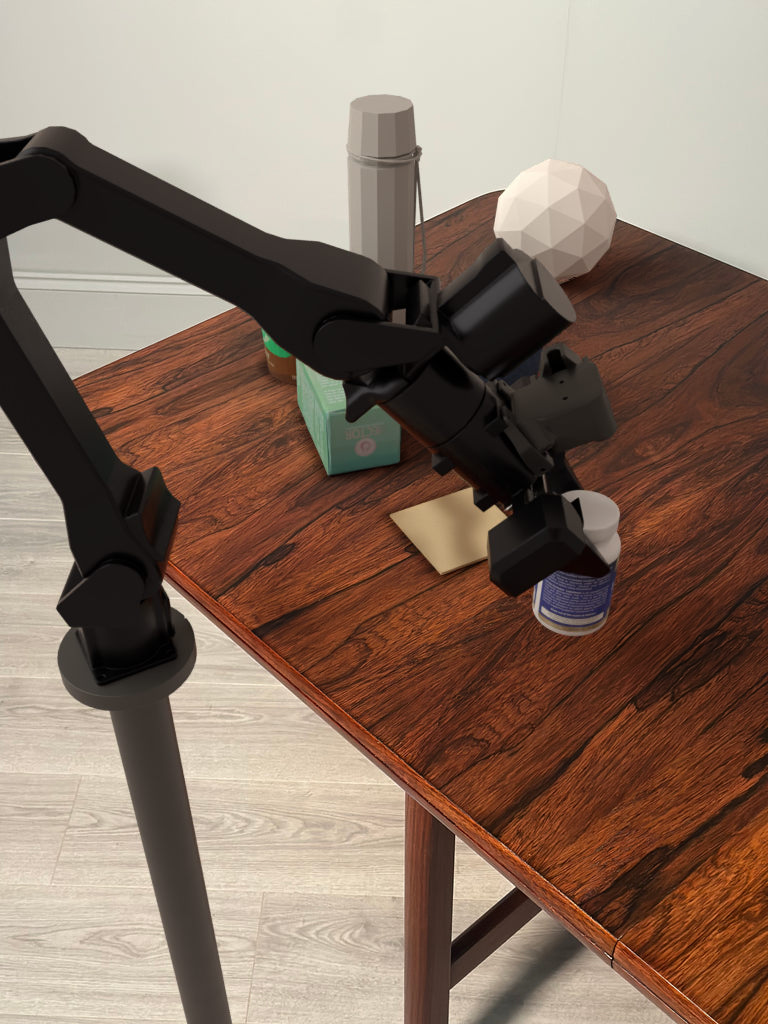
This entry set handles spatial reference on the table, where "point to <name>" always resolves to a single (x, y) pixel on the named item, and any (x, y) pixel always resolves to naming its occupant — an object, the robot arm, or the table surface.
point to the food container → (280, 361)
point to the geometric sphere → (557, 217)
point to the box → (344, 426)
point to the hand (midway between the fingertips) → (599, 545)
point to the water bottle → (384, 183)
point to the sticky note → (449, 529)
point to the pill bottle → (578, 598)
